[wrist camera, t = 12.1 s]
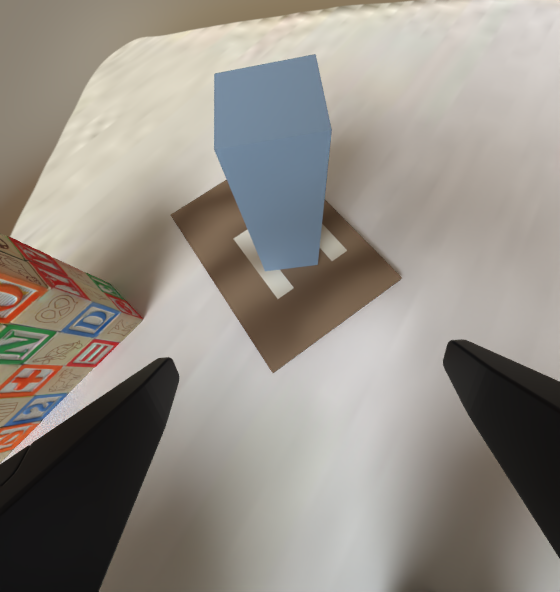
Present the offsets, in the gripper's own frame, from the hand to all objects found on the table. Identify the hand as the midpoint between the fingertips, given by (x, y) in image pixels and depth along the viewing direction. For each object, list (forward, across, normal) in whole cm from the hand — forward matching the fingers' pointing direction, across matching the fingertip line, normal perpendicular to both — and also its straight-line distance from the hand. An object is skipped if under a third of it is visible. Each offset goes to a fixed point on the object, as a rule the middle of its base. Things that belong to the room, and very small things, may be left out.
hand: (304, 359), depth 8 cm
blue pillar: (+17, +1, +1) cm, 17 cm away
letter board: (+18, +2, +1) cm, 18 cm away
